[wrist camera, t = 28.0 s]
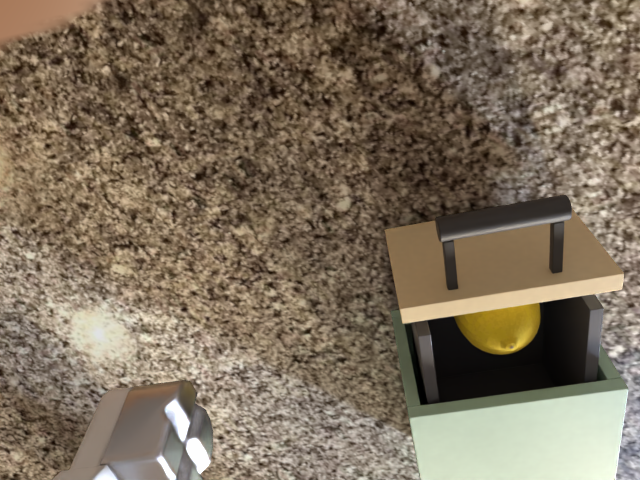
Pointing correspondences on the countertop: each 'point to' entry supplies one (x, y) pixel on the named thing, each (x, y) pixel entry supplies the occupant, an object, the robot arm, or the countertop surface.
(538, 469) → the cabinet
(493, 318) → the lemon
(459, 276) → the drawer
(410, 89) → the countertop surface
